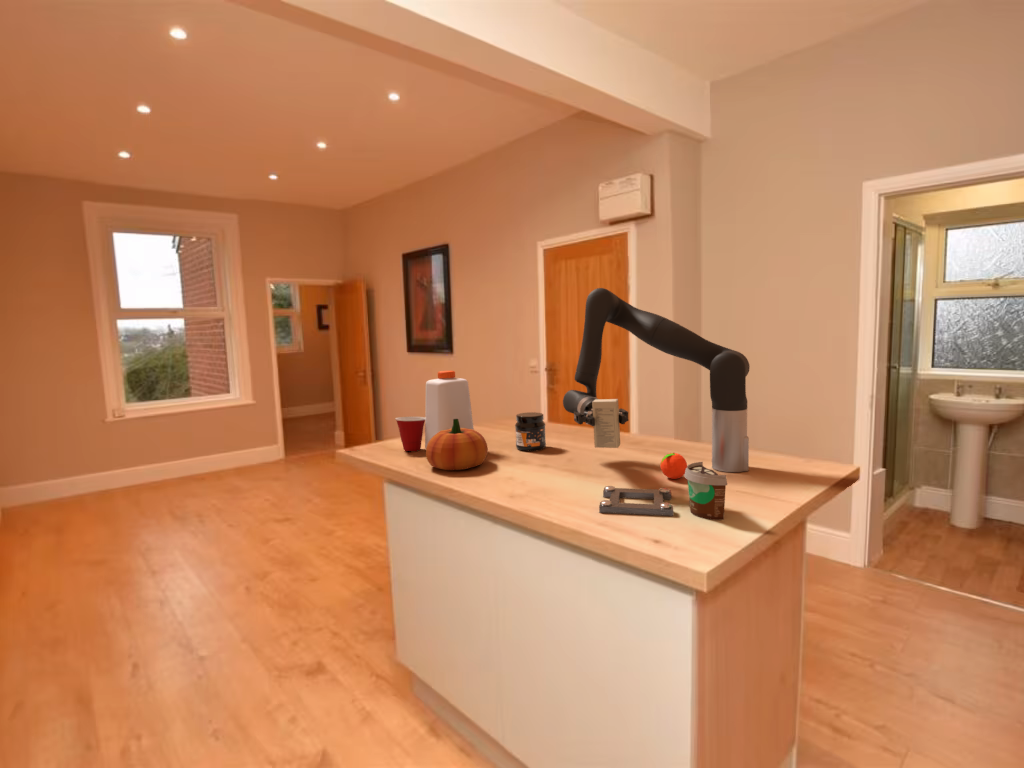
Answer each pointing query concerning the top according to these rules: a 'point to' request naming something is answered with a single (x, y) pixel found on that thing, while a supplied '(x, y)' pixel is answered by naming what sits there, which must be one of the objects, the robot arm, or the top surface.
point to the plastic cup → (411, 432)
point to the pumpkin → (456, 448)
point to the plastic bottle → (446, 404)
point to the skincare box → (606, 423)
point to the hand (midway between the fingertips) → (608, 421)
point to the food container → (706, 491)
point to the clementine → (673, 465)
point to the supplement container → (530, 431)
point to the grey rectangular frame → (637, 509)
